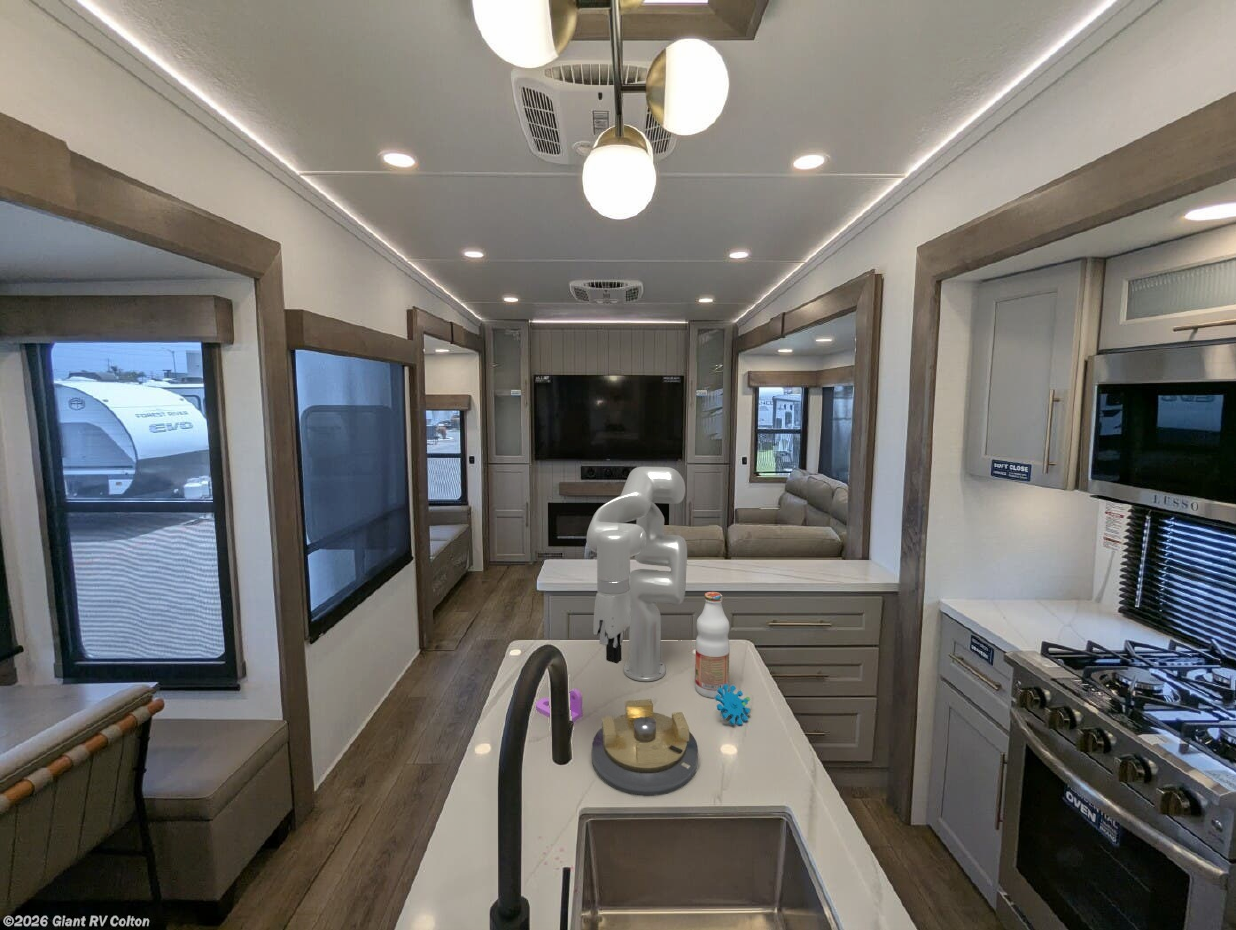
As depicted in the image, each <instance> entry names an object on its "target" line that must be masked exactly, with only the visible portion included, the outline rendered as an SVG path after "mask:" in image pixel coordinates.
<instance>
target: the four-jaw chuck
mask: <svg viewBox="0 0 1236 930" xmlns="http://www.w3.org/2000/svg"><path fill="white" fill-rule="evenodd" d="M624 703H625V704H624V706H625V708H624V709H625V710H624V711H625V712H624V713H625V714H621V715H619V716H617V717H615V718H614V717H613V716H607V717H601V728H602V733H603V748H604V751H605V753H606V755H607V756H608V758H609V759H610V760H611V761H612V762H614V763H615V764H617V765H618V766H620V767H622V768H625V769H628V770H631V771H635V772H645V773H649V772H659V771H663V770H666V769H669V768H671V767H673V766H675V765H676V764H678V763H679V762H680V761H681V760H682V759H683V757H684V756H685V754H686V750H687V741H689V732H690V727H689V725H688V722H687V720H686V717H685V714H684V712H683V711H681V712H672V713H671V717H670V716H668V715H666V714H664V713H663V714H662V713H658V712H655V711H654V704H653V700H652V699H651V698H649V699H647V698H646V699H636V700H635V699H633V700H625V702H624Z"/></svg>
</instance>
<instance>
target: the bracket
mask: <svg viewBox="0 0 1236 930" xmlns="http://www.w3.org/2000/svg"><path fill="white" fill-rule="evenodd" d="M568 693H570V710H571V716H572V721H573V723H572V724H574V723H576V722H577V721H578V720H580V719H581V718H582V717H583V695H582V693H581V691H580V690H579V689H578V688H572V689H571V690H570V691H569V692H568ZM549 707H550V706H549V697H548V696H547V697H542V698H540V699H538V700H537V701H536V703H535V709H536V710H535V711H536V712H538V713H539V714H542V716H543V715H544V716H546V717H548V718H550V709H549ZM550 719H551V718H550Z"/></svg>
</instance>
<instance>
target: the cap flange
mask: <svg viewBox="0 0 1236 930" xmlns="http://www.w3.org/2000/svg"><path fill="white" fill-rule="evenodd" d="M698 747H699V746H698V743H697V740H696V738H695V737H694V735H693V734H692V733H691V731H689V741H687V750H686V754H685V756H684V757H683V759H682V760H681V761H680V762H679V763H678V764H676V765H675V766H673V767H671V768H669V769H666V770H663V771H659V772H649V773H645V772H635V771H631V770H628V769H625V768H622V767H620V766H618V765H617V764H615V763H614V762H612V761H611V760H610V759H609V758H608V756H607V755H606V753H605V751H604V748H603V733H602V727H600V728H599V729H598V731H597V732H596V734H595V735H594V738H593V739H592V745H591V751H592V752H591V759H592V760H591V762H592V766H593V769H594V771H595V773H596V774H597V775H598V777H599V778H600V779H601V780H602V781H603V782H604V783H605V784H606V785H608V786H610V787H611V788H613V789H615V790H617V791H619V792H622V793H625V794H628V795H629V794H630V795H634V796H639V797H641V796H643V797H652V796H653V797H655V796H660V795H661V796H662V795H665V794H669V793H672V792H675V791H677V790H680V789H681V788H683V787H685V786H686V785H687V784H688V783H689V782H690V781H691V780H692V779H693V778H694V776H695V774H696V772H697V769H698V764H699V762H698V761H699V760H698V759H699V749H698Z"/></svg>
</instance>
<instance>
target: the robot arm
mask: <svg viewBox="0 0 1236 930" xmlns="http://www.w3.org/2000/svg"><path fill="white" fill-rule="evenodd" d="M685 494H686V484H685V480H684V478H683V476H682V475H681V474H680V472H679V471H678V470H676V469H675V468H672V467H668V466H665V467H664V466H638V467H635V468H633V469H632V470H631V471H630V472H629V475H628V476H627V479H626V481H625V484H624V486H623V489H622V491H621V494H620V495H619V496H617V497H615V498H613V499H610V500H609V501H608V502H606V503H604V504H603V505H601V506H600V507H598V509H597V510H596V512H595V513H594V514H593V516H592V519H591V521H590V523H589V526H588V529H587V531H586V532H587V533H586V544H587V547H588V549H589V550H590V551H591V552H593V553H596V563H597V564H596V568H597V570H596V573H597V574H596V576H597V577H596V578H597V580H596V581H597V584H596V585H597V587H596V588H597V589H596V591H597V593H596V595H595V600H594V609H593V626H592V627H593V630H592V631H593V635H594V636H598V635H599V644H600V645H603V646H605V652H606V653H605V655H606V656H605V659H606V662H610V663H614V664H619V663H620V662H621V661H622V660H623V659H622V643H623V642H624V641H623V640H624V633H625V631H626V630H627V629H628V627H629V629H628V631H629V635H628V637H629V639H628V642H629V643H628V644H629V645H628V649H629V650H628V652H629V653H628V662H626V663H625V665H624V666H623V673H624V674H625V675H626V676H627V677H628V678H629V679H631V680H635V681H638V682H652V681H653V682H654V681H657V680H659V679H662V678H663V677H664V676H665V675H666V666H665V664H664V663H662V662H661V657H662V656H661V653H662V651H661V648H662V645H661V643H662V641H661V638H662V635H661V633H662V631H661V630H662V628H661V627H662V617H661V612H660V610H659V608H658V606H657V605H656V604H664V605H672V606H673V605H674V606H675V605H681V604H682V603H683V601H684V599H685V597H686V588H687V587H686V586H687V585H686V583H687V582H686V581H687V565H688V545H687V541H686V539H685V538H684V537H683V536H682V535H678V534H667V533H664V532H665V531H664V528H665V517H664V515H663V513H662V511H661V510H660V508H659V507H658V506H657V505H656V504H672V505H673V504H675V505H676V504H680V503H682V502H683V501H684V497H685ZM632 521H636V523H628V522H632ZM633 557H634V559H635V561H636V562H637V563H639V564H642V565H647V566H649V565H650V566H658V567H669V569H670V570H671V571H669V570H659V569H647V568H639V569H638V568H637V569H634V570H631V558H633Z"/></svg>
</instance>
